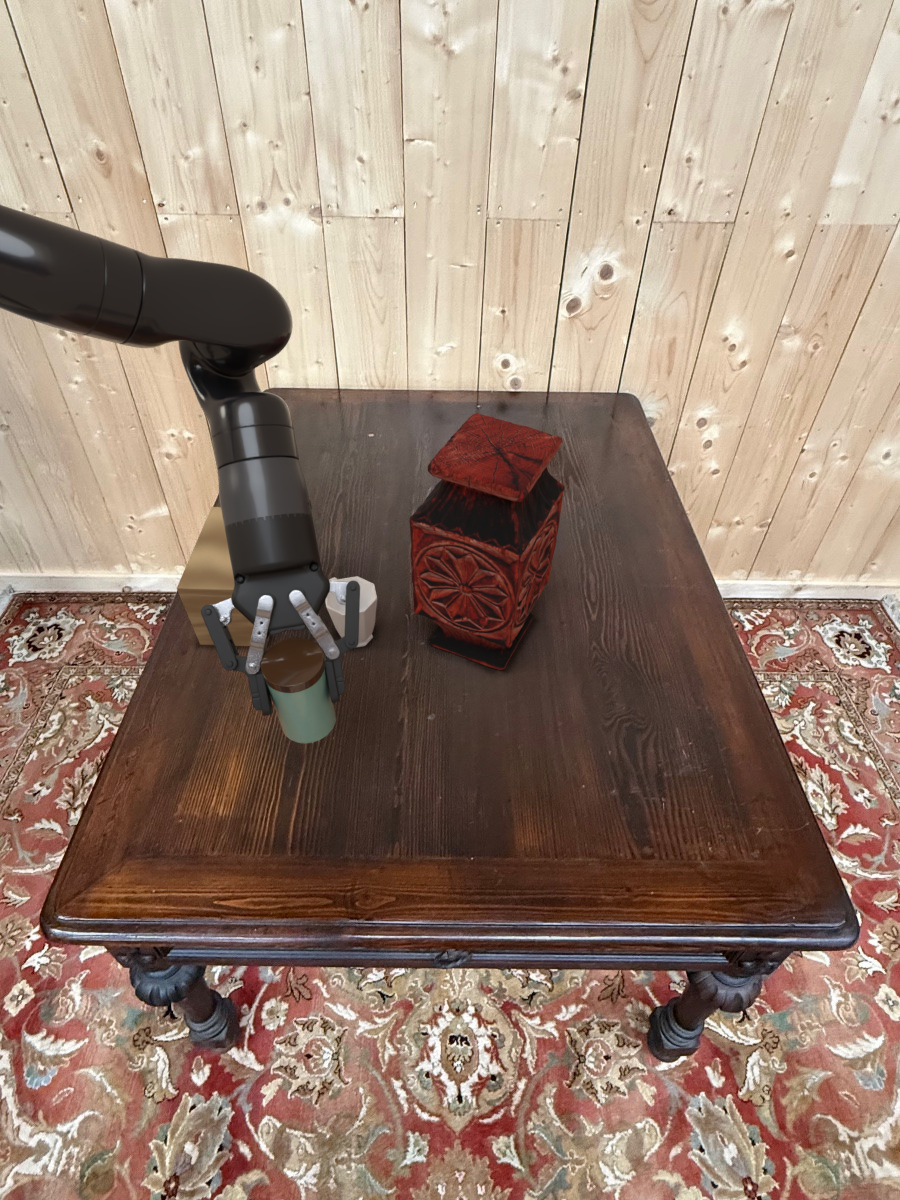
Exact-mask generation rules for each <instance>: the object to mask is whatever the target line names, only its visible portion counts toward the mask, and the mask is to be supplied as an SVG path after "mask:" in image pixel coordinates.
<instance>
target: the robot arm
mask: <svg viewBox="0 0 900 1200" xmlns="http://www.w3.org/2000/svg"><path fill="white" fill-rule="evenodd" d="M0 309H2V310H4V311H6V312H9V313H11V314H14V315H17V316H20V317H22V318H25V319H27V320H31V321H32V322H33V321H34V322H36V323H38V324H42V325H45V326H47V327H48V326H49V327H52V328H55V329H58V330H61V331H65V332H70V333H73V334H77V335H82V336H85V337H90V338H92V339H93V338H94V339H98V340H101V341H106V342H110V343H114V344H119V345H121V346H122V345H123V346H126V347H131V348H137V349H153V348H157V347H160V346H163V345H165V344H170V343H172V342H173V343H174V342H177V343H178V350H179V354H180V360H181V363H182V366H183V368H184V371H185V373H186V375H187V378H188V380H189V382H190V385H191V388H192V390H193V392H194V395H195V397H196V399H197V402H198V404H199V406H200V408H201V410H202V412H203V414H204V416H205V419H206V421H207V422H208V425H209V430H210V438H211V444H212V451H213V454H214V460H215V465H216V471H217V480H218V481H217V482H218V497H219V505H220V507H221V511H222V516H223V522H224V527H225V533H226V538H227V544H228V549H229V555H230V560H231V566H232V571H233V577H234V590H233V593H232V596H231V598H230V599H227V600H224V601H222V602H219V603H216V604H211V605H205V606H204V607H203V608H202V609H201V615H202V617H203V620H204V622H205V624H206V627H207V629H208V632H209V634H210V636H211V639H212V641H213V644H214V645H213V646H214V648H215V651H216V653H217V656H218V659H219V660H220V663H221V665H222V668H223V669H224V670H225V671H228V672H232V671H234V672H239V673H242V674H245V676H246V677H247V680H248V686H249V690H250V691H249V692H250V696H251V697H250V698H251V701H252V706H253V708H254V709H255V711H261V713H262V716H263V717H267V716H271V715H273V713H274V705H273V701H272V698H271V695H270V692H269V689H268V686H267V683H266V681H265V679H264V677H263V674H262V671H261V662H262V658H263V656H264V654H265V653H266V652H267V647H268V645H269V641H270V637H271V636H275V635H279V634H281V633H283V632H285V631H288V630H289V631H301V630H306V629H308V631H309V632H310V634H311V635H312V638H314V639H315V641H316V642H317V645H318V646H319V647H320V648H321V650H322V652H323V654H324V656H325V659H324V661H325V669H326V674H327V680H328V685H329V691H330V697H331V702H332V703H338V702H339V703H340V695H344V694H345V692H346V682H345V677H344V672H343V665H342V660H341V659H342V656H343V655H344V654H345V653H347V652H349V651H350V650H352V649H355V647H356V648H358V647H357V645H358V642H359V608H360V585H359V583H358V582H357V581H354V580H352V581H349V582H334V581H329V578H328V577H327V576H326V574H325V573H324V571H323V568H322V562H321V558H320V552H319V546H318V541H317V535H316V529H315V523H314V519H313V512H312V510H313V507H312V502H311V500H310V496H309V491H308V490H309V489H308V485H307V482H306V479H305V478H306V477H305V475H304V472H303V470H302V466H301V461H300V456H299V451H298V445H297V439H296V433H295V428H294V422H293V418H292V415H291V412H290V408H289V406H288V404H287V403H286V401H285V399H283V398H282V397H280V396H279V395H277V394H275V393H271V392H267V391H262V390H261V387H260V385H259V382H258V380H257V376H256V375H257V374H256V369H257V368H259V366H261V365H263V364H265V363H266V362H268V361H270V360H271V359H273V358H274V357H275V358H276V357H277V355H279V354H280V353H281V352H282V351H283V350H284V349H285V348H286V346H287V345H288V343H289V341H290V340H291V338H292V337H291V336H292V333H293V326H294V325H293V323H294V322H293V316H292V311H291V308H290V306H289V304H288V302H287V301H286V299H285V298H284V296H283V295H282V294H281V292H280V291H279V290H278V289H277V288H276V287H275V286H274V285H273V284H272V283H270V282H269V281H268V280H267V279H265V278H264V277H262V276H260V275H259V274H256V273H254V272H252V271H250V270H247V269H246V268H245V269H244V268H241V267H237V266H234V265H229V264H223V263H217V262H212V261H211V262H210V261H203V260H194V259H188V258H180V257H179V258H177V257H163V256H154V255H150V254H148V253H145V252H142V251H139V250H137V249H134V248H131V247H129V246H126V245H124V244H120V243H117V242H115V241H112V240H109V239H107V238H104V237H100V236H97V235H94V234H91V233H89V232H86V231H83V230H80V229H76V228H74V227H70V226H67V225H65V224H61V223H58V222H56V221H52V220H49V219H46V218H43V217H40V216H37V215H34V214H30V213H27V212H24V211H21V210H19V209H16V208H12V207H9V206H6V205H2V204H0ZM329 592H333V593H334V594H335V595H336V597H337V601H338V603H339V604H341V605H345V636H344V637H342V638H341V637H340V638H339V639H337V640H335V639H334V637H333V635H332V634H331V633H330V631H329V629H328V628H327V626H326V624H325V622H324V621H323V620H322V618H321V616H320V615H319V613H320V612H321V610H322V608H323V606H324V603H325V599H326V597H327V595H328V593H329ZM235 608H236V609H237V610H238V611H239V612H240V613H241V614H242V615H243V616H245V617H246V618H247V619H248V620H249V621H250V622H251V623H252V624H253V625H254V627H253V631H252V636H251V640H250V646H248V647H249V648H248V652H247V653H248V654H247V656H245V655H240V653H239V652H238V649H237V646H235V644H234V641H233V639H232V636H231V634H230V632H229V629H228V627H227V625H229V624H230V623H231V622H232V611H233V609H235Z"/></svg>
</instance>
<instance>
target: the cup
mask: <svg viewBox="0 0 900 1200" xmlns="http://www.w3.org/2000/svg"><path fill="white" fill-rule="evenodd" d="M328 580H329V581H334V582H349V581H352V580H354V581H357V582H358V583H359V585H360V608H359V642H358V645H357V647H355V648H361V647H366V646H367V645H368V644H369V643H370V641H372V639H373V638H374V636H373V632H374V629H375V626H376V624H375V623H376V617H377V616H376V614H377V606H378V605H377V604H378V596H377V591H376V586H375V583H373V582H371V581H369V580H366V579H364V578H363V577H360V576H357V575H355V576H349V577H345V578H337V577H335V576H334V577H331V578H330V579H329V578H328ZM324 603H325V607H326V610H327V613H328V614H329V617H330V619H331V622H332V623H333V624H332V625H333V626H334V628H335V630H336V631H337V633H338V635H339V636H340V638H342V637H344V636H345V605H341V604H339V603H338V601H337V597H336V595H335V594H334V593H333V592H329V593H328V595H327V597H326V599H325V601H324ZM355 648H354V649H355Z"/></svg>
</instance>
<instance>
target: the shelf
mask: <svg viewBox="0 0 900 1200" xmlns="http://www.w3.org/2000/svg"><path fill="white" fill-rule="evenodd" d="M233 590H234V577H233V571H232V566H231V560H230V555H229V549H228V544H227V538H226V533H225V527H224V522H223V516H222V511H221V506H211V507H210V510H209V512H208V514H207V517H206V518H205V521H204V524H203V525H202V528H201V530H200V533H199V535H198V537H197V540H196V542H195V543H194V546H193V549H192V552H191V554H190V556H189V558H188V561H187V562H186V566H185V567H184V570H183V573H182V575H181V577H180V580H179V582H178V584H177V586H176V591H177V593H178V595H179V598H180V600H181V602H182V605H183V607H184V610H185V612H186V614H187V617H188V619H189V621H190V623H191V627H192V629H193V631H194V633H195V635H196V638H197V641H198V642H199V646H214V644H213V641H212V639H211V636H210V634H209V632H208V629H207V627H206V624H205V622H204V620H203V617H202V615H201V609H202V608H203V607H204V606H205V605H211V604H216V603H219V602H222V601H224V600H227V599H230V598H231V596H232V593H233ZM227 627H228V629H229V632H230V634H231V636H232V639H233V641H234V644H235V646H236V647H250V640H251V636H252V631H253V627H254V625H253V624H252V623H251V622H250V621H249V620H248V619H247V618H246V617H245V616H243V615H242V614H241V613H240V612H239V611H238V610H237V609H236V608H235V609H233V611H232V622H231V623H230V624H229V625H227Z"/></svg>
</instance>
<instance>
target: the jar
mask: <svg viewBox="0 0 900 1200" xmlns="http://www.w3.org/2000/svg"><path fill="white" fill-rule="evenodd" d="M324 656H325V655H324V652H323V650H322V648H321V647H320V645H319V644H318V643H316V642H315V641H313V640H311V639H309V638H305V637H289V638H286V639H282V640H280V641H278V642H276V643H274V644H273V645H271V647H269V648H268V649H266V653H265V654H264V656H263V658H262V662H261V671H262V674H263V677H264V679H265V681H266V683H267V686H268V689H269V692H270V695H271V700H272V705H273V708H274V710H275V712H276V716H277V719H278V722H279V724H280V728H281V731H282V733H283V734H284V736H285V737H286V738H288V739H289V740H290V741H292V742H295V743H298V744H312V743H316V742H319V741H320V740H322V739H324V738H325V737H327V736H328V735H330V733H331V732H332V730H333V729H334V727H335V725H336V721H337V712H336V707H335V704H334V703H332V702H331V697H330V691H329V685H328V680H327V674H326V669H325V657H324Z"/></svg>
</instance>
